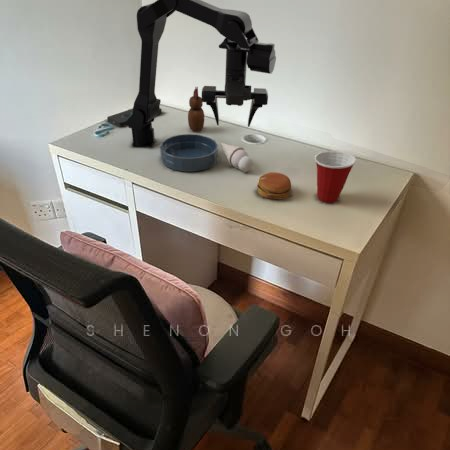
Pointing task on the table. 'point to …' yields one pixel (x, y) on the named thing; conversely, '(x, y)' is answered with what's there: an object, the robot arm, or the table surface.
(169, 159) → the bowl
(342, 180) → the plastic cup
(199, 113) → the wooden figurine
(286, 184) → the burger
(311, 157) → the table surface
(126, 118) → the smart home device
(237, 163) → the ice cream cone
